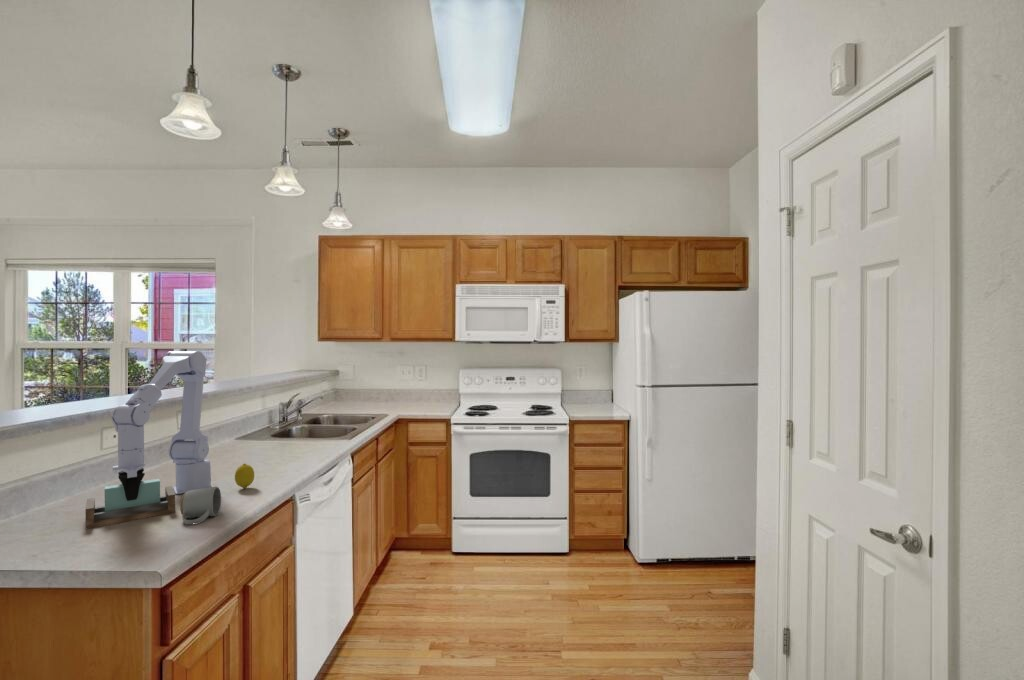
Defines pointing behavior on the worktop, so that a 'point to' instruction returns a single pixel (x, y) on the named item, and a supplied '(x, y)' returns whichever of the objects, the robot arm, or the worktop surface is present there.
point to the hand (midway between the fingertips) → (131, 498)
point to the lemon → (244, 475)
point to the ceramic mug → (200, 504)
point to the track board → (129, 511)
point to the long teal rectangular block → (146, 495)
